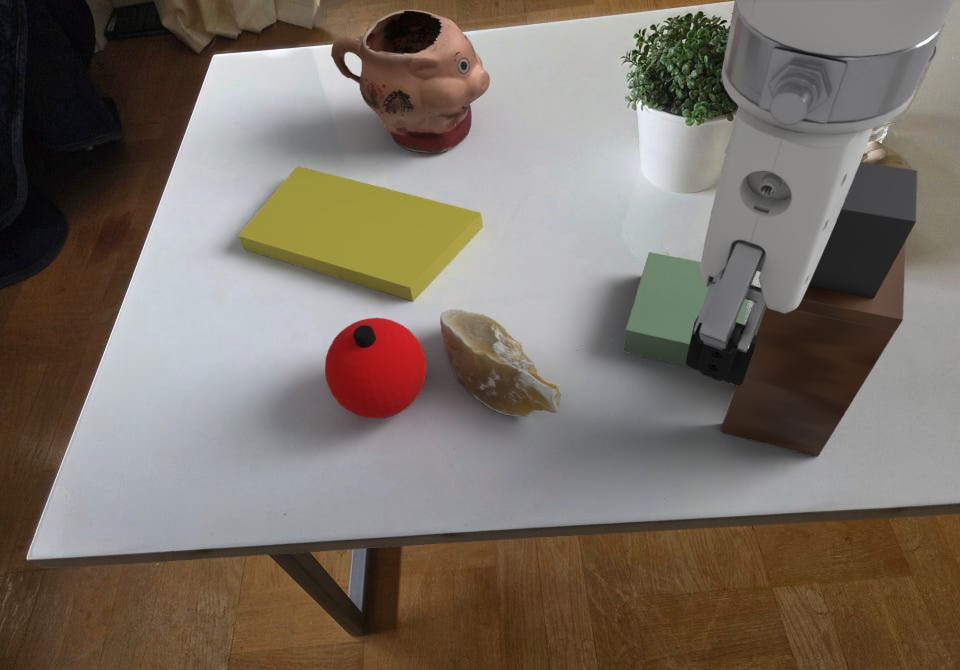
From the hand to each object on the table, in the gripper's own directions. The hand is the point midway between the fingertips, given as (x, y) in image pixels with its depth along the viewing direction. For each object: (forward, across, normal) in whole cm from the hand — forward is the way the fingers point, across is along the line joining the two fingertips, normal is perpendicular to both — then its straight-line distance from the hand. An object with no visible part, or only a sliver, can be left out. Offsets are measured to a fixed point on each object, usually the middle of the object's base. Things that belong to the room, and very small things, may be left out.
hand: (744, 310), depth 43 cm
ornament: (+23, -5, +28) cm, 36 cm away
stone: (+23, +2, +19) cm, 30 cm away
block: (+4, +10, -4) cm, 11 cm away
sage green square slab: (+23, +15, +6) cm, 28 cm away
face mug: (+22, +29, +47) cm, 59 cm away
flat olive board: (+22, +10, +42) cm, 49 cm away
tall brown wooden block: (+23, +10, -4) cm, 25 cm away
